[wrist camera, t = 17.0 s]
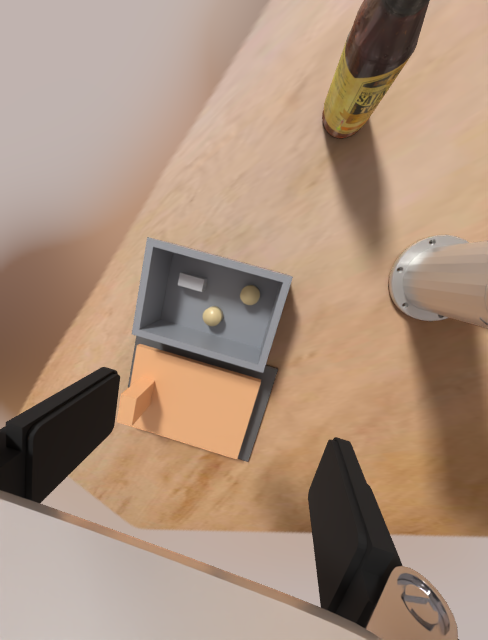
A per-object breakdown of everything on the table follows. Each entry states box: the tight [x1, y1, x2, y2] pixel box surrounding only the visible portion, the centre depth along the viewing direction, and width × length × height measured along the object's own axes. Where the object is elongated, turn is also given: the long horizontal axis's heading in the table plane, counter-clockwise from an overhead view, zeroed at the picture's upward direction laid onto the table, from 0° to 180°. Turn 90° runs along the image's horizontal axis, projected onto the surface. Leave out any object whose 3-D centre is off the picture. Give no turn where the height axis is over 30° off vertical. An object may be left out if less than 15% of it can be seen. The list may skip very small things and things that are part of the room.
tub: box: [132, 237, 293, 373], centre depth 38 cm, size 20×14×8 cm
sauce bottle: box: [322, 0, 430, 138], centre depth 24 cm, size 7×6×20 cm
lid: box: [117, 344, 261, 459], centre depth 41 cm, size 22×16×8 cm
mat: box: [128, 336, 278, 462], centre depth 46 cm, size 26×20×1 cm
